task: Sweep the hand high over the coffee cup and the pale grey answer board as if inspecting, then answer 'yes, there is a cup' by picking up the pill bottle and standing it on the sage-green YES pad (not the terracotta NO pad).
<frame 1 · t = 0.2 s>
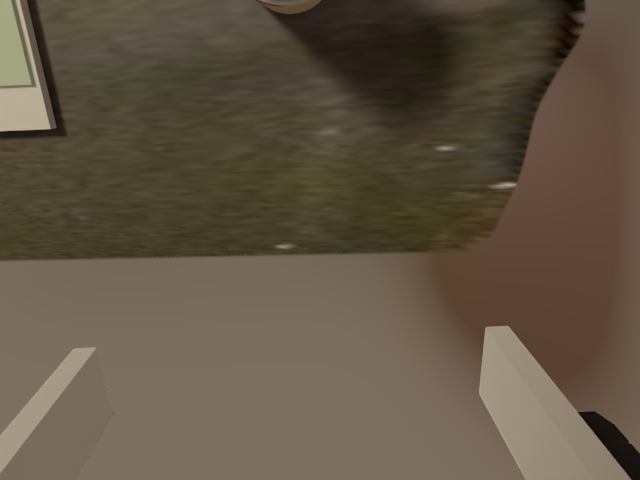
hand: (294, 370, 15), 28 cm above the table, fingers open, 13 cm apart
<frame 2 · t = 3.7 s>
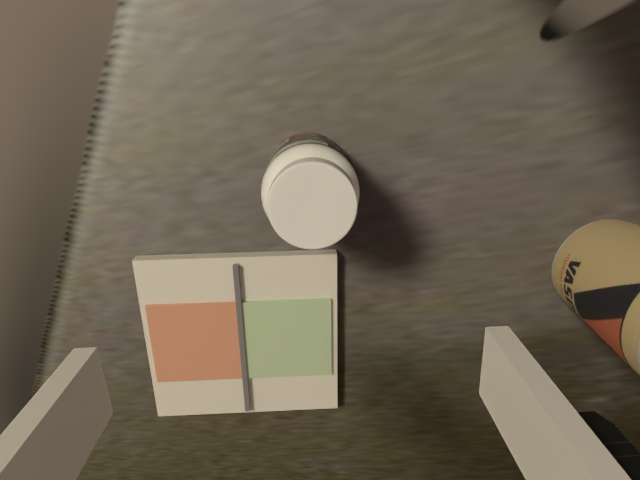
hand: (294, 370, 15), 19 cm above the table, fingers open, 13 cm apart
answer board: (243, 333, 36), on the table
pill bottle: (307, 171, 32), on the table
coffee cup: (596, 263, 36), on the table
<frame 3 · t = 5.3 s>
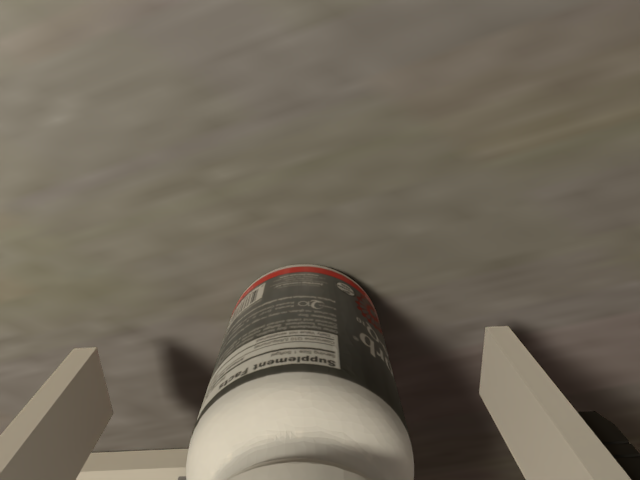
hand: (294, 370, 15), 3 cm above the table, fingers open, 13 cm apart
pill bottle: (305, 322, 18), on the table
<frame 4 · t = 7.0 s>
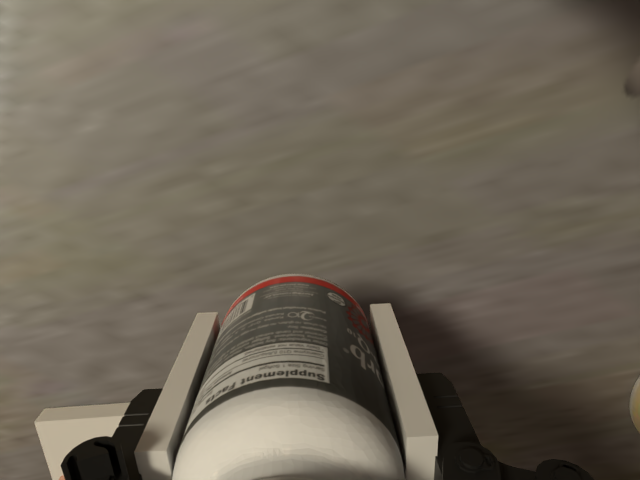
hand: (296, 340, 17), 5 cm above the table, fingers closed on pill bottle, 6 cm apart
pill bottle: (296, 332, 18), point 5 cm above the table, touching gripper
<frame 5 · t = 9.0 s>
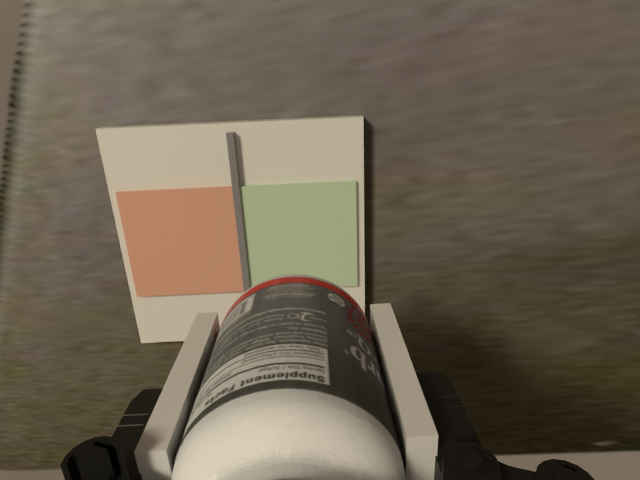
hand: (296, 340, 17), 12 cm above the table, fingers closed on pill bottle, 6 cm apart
answer board: (244, 234, 28), on the table
pill bottle: (296, 332, 17), point 12 cm above the table, touching gripper
when the fingers open (2 cm above the table, at t = 11.0 s): pill bottle stays where it is, resting on answer board.
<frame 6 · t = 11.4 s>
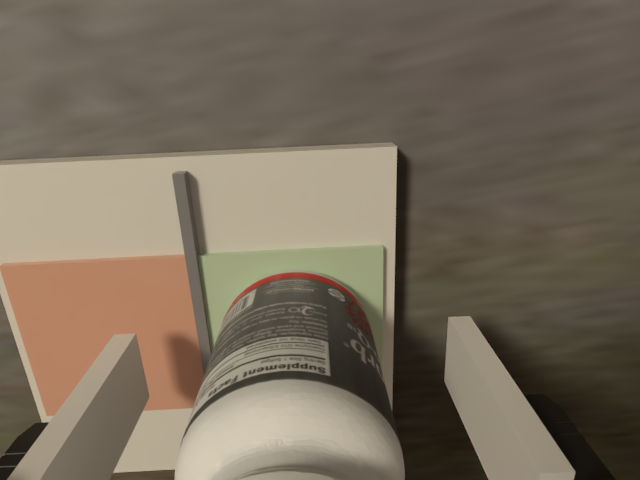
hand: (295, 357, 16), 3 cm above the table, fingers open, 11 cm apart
answer board: (211, 319, 19), on the table
pill bottle: (296, 328, 18), point 1 cm above the table, touching answer board
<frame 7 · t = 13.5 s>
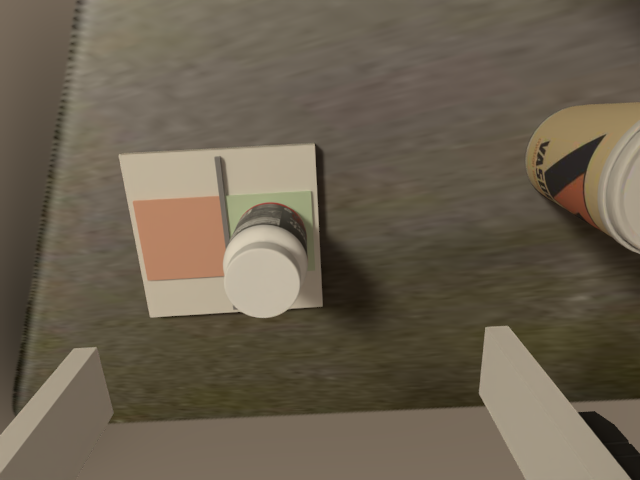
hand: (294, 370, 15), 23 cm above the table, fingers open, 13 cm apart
answer board: (229, 232, 38), on the table
pill bottle: (271, 233, 37), point 1 cm above the table, touching answer board
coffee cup: (569, 153, 37), on the table
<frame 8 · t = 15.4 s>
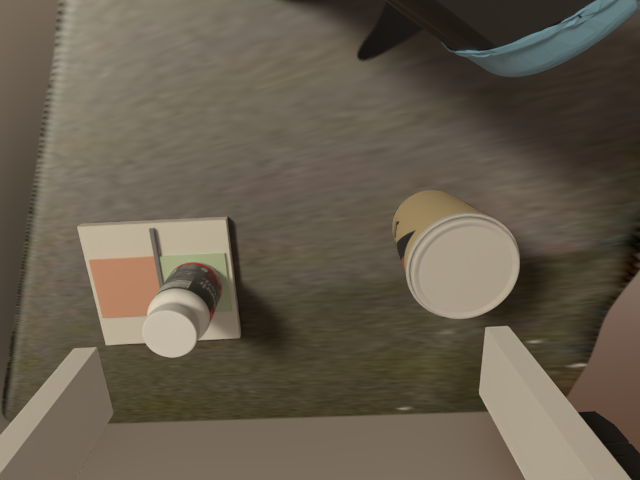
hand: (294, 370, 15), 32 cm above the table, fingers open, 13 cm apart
answer board: (165, 281, 49), on the table
pill bottle: (196, 283, 48), point 1 cm above the table, touching answer board
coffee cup: (427, 224, 47), on the table
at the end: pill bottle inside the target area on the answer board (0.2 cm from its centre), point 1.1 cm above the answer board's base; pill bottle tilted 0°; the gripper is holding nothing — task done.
